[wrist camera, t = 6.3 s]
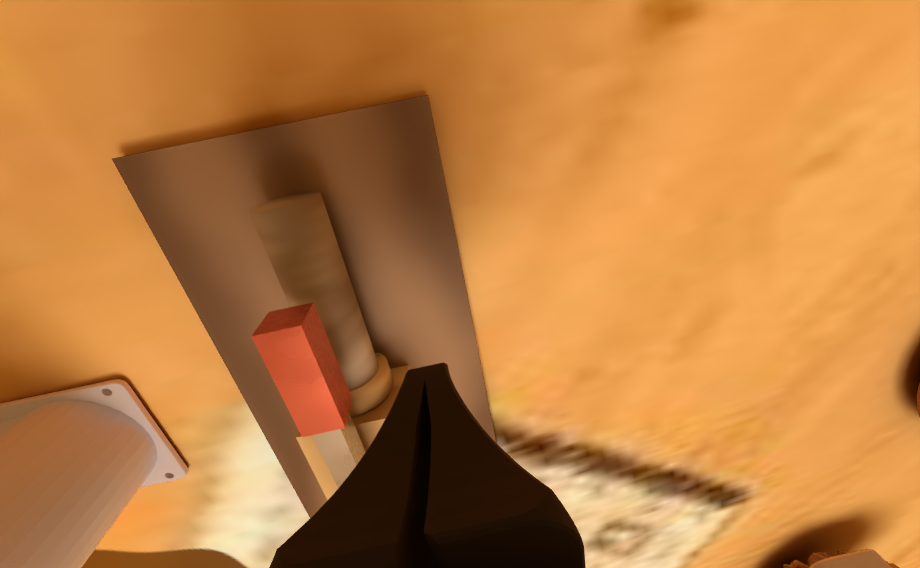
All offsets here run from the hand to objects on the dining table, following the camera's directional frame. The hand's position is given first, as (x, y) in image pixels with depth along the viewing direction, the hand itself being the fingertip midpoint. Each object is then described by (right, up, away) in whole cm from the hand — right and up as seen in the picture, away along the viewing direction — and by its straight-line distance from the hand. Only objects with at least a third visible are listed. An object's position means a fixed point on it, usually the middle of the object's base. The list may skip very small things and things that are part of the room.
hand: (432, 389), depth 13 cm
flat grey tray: (-4, -4, +12) cm, 13 cm away
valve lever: (-5, -2, +5) cm, 7 cm away
